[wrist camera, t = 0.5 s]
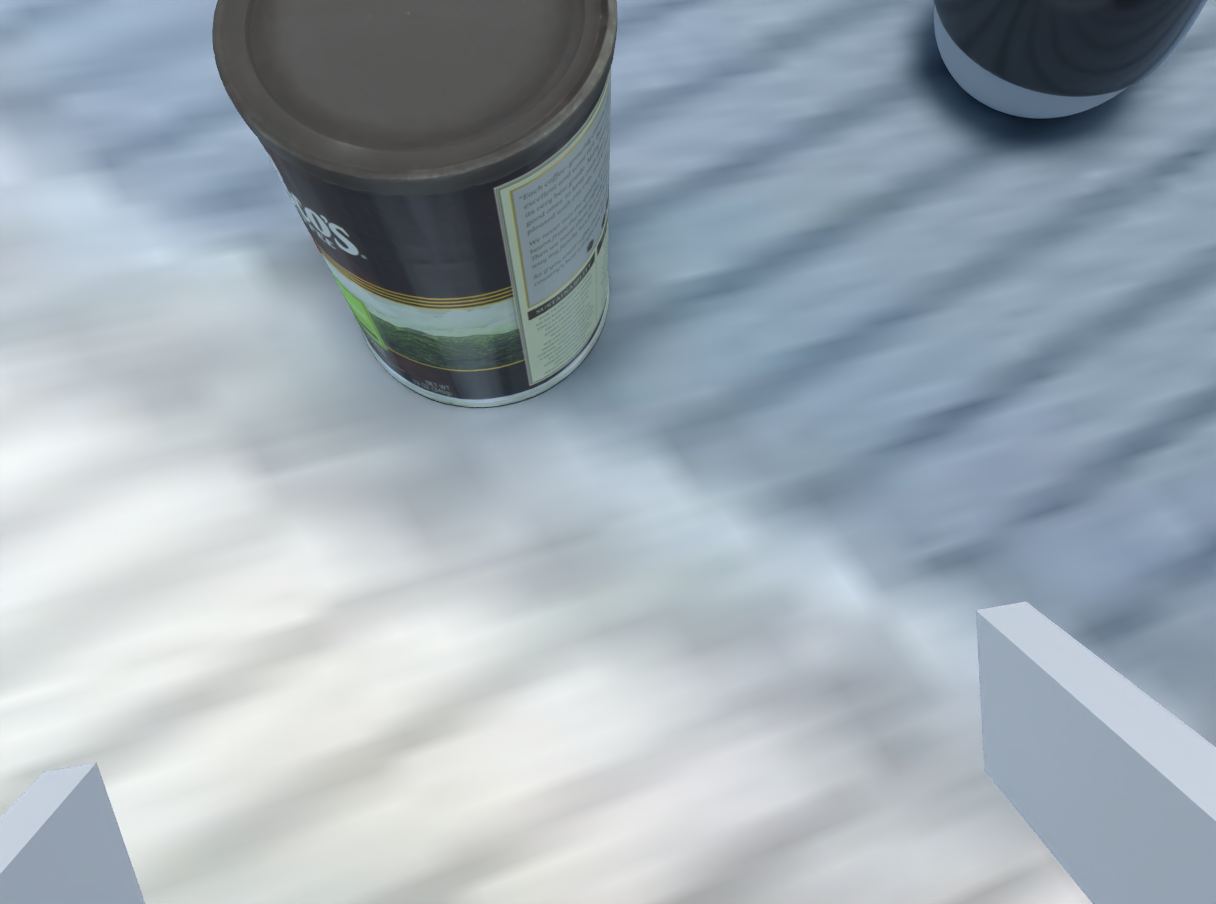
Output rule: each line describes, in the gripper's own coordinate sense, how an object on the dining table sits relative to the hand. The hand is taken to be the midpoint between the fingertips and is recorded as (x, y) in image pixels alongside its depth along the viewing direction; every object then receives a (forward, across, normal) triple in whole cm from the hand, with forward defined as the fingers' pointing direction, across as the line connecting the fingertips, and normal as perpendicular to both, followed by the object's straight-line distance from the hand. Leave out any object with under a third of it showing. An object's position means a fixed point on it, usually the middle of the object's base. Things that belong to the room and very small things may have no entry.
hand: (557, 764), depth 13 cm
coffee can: (+25, +2, -6) cm, 25 cm away
